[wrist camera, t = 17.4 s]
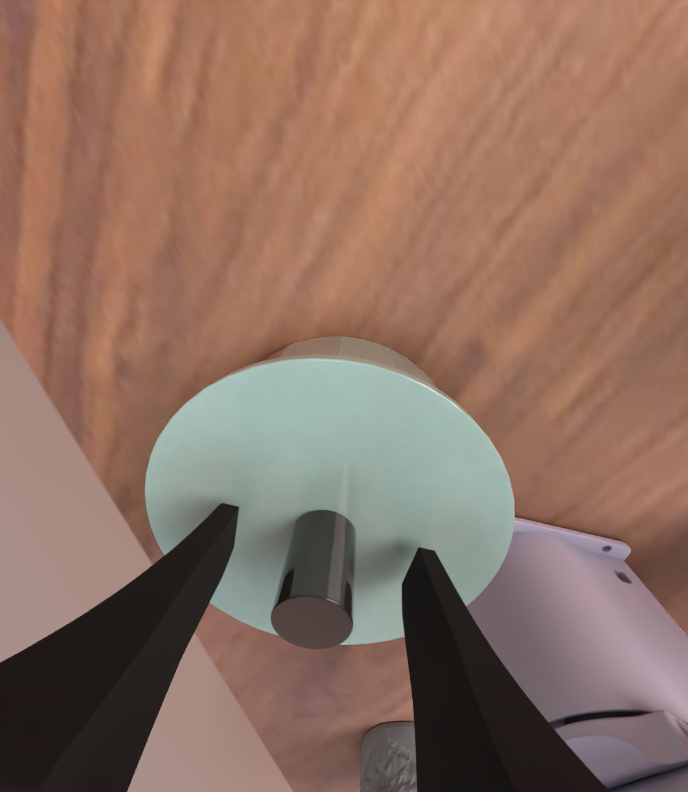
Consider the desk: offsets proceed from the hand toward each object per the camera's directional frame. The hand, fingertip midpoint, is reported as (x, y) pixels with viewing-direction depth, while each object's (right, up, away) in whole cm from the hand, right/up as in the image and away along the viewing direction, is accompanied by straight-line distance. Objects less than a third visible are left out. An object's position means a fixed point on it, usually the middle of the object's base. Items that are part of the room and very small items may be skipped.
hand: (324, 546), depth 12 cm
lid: (0, 0, +1) cm, 1 cm away
